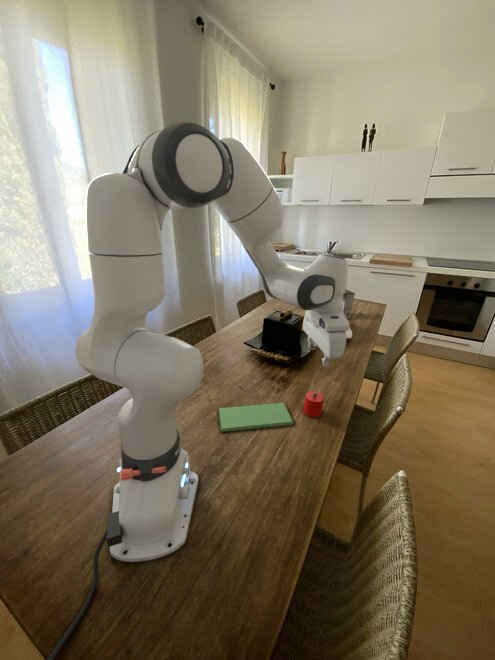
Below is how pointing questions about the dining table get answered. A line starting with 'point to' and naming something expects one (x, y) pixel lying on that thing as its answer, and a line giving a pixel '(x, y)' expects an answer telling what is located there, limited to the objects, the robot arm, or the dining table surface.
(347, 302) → the coffee box
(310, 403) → the pepper
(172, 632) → the dining table surface
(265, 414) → the towel
